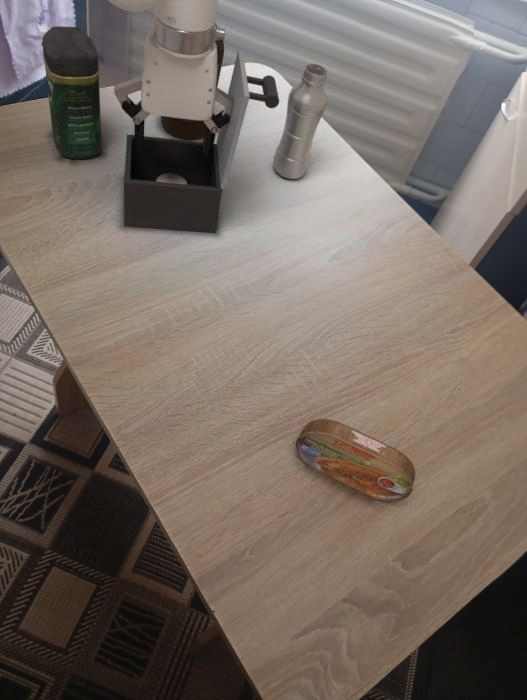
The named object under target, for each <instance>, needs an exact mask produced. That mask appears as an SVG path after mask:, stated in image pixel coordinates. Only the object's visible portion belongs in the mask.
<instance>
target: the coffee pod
mask: <svg viewBox="0 0 527 700" xmlns="http://www.w3.org/2000/svg"><path fill="white" fill-rule="evenodd" d="M156 182H165V183H176V184H187V182H186V180H185V179H184V178H183V177H181V176H179V175H177V174H172V173H167V174H162V175H160V176H159V177H158V178H157V180H156Z"/></svg>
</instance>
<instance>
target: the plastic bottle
mask: <svg viewBox="0 0 527 700" xmlns="http://www.w3.org/2000/svg"><path fill="white" fill-rule="evenodd" d="M327 77H328V70H327V69H326V68H325V66H322V65H321V64H317V63H307V64H305V66H304V69H303V73H302V74H301V80H300V81H299V82H297V83H296V84H295V85H294V86H293V87H292V88H291V89H290V92H288V96H287V104H286V105H287V106H286V117H285V121H284V127H283V132H282V134H281V137H280V139H279V140H280V141H279V143H278V145H277V147H276V149H275V152H274V155H273V167H274V170H275V172H276V173H277V174H278V175H280V176H281V177H283V178H285V179H288V180H290V179H291V180H297V179H300V178H301V177H303V176H305V174H306V173H307V171H308V169H309V167H310V162H311V151H312V146H313V141H314V137H315V134H316V131H317V129H318V126H319V124H320V122H321V119H322V117H323V115H324V112H325V110H326V108H327V96H326V92H325V89H324V86H325V84H326V82H327V81H326V79H327Z"/></svg>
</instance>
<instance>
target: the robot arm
mask: <svg viewBox="0 0 527 700" xmlns="http://www.w3.org/2000/svg"><path fill="white" fill-rule="evenodd" d="M107 1H108V2H109V3H110V4H112V5H113V6H115V7H116V8H119V9H121V10H123V11H127V12H132V13H134V12H135V13H137V12H138V13H139V12H144V11H147V10H149V9H151V8H153V7H154V11H153V13H154V15H153V16H154V17H153V29H150V30H149V31H148V33H147V35H146V39H145V42H144V43H145V44H144V49H143V55H142V56H143V57H142V66H141V75H140V76H137V77H134V78H132V79H128V80H126V81H122V82H120V83H116V84H115V85H114V87H113V94H114V96H115V97H116V100H117V102H118V103H119V105H120V106H121V109H122V111H124V113H125V114H127V116H128V117H129V118H130V119H132V120H131V121H132V123H133V124H134V125H133V126H134V127H133V128H134V129H133V133H134V134H133V135H134V139H135V140H139V149H142V148H144V136H145V124H146V123H145V120H146V119H147V118H148V117H149V116H150V115H152V116H158V117H161V116H165V117H173V118H181V119H190V120H199V121H203V122H204V123H205V130H204V137H202V138H203V139H202V142H203V155H205V156H208V154H209V148H213V147H214V144H215V140H216V134H218V133H219V130H220V128H221V127H223V126H224V125H226V124H227V123H229V122H230V118H231V115H232V111H233V107H234V98H232V97H231V96H229V95H228V93H227V92H225V91H223V90H222V89H221V88H219V86H218V87H216V80H217V46H216V43H215V40H218V39H220V40H223V41H225V37H226V28H224V27H220V26H219V25H218V24H217V23H216V17H217V9H218V1H219V0H107ZM216 24H217V25H216ZM137 92H140V100H139V101H138V103H135V102H134V101H133V100H132V99H131V98H130V97H129V95H131V94H134V93H137ZM215 102H217V103H219V105H221V106H223V107H224V108H225V107H226V108H225V110H224V109H222V110H221V111H220V112H218V113H217V114H215V112H214V111H215Z"/></svg>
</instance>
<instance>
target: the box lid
mask: <svg viewBox="0 0 527 700" xmlns="http://www.w3.org/2000/svg"><path fill="white" fill-rule="evenodd" d="M249 84H251V85H256V86H261V88H262V93H258V92H252V91H250V90H249ZM227 94H228V95H229V96H231V97H232V98H234V107H233V111H232V115H231V118H230V122H229V123H227V124H226V125H224V126H223V127H221V128H220V129H219V131H218V133H217V139H216V144H217V151H218V163H219V175H220V187H221V189H222V190H225V189H226V186H227V183H228V180H229V175H230V171H231V169H232V165H233V161H234V157H235V153H236V149H237V145H238V142H239V138H240V134H241V131H242V127H243V123H244V120H245V116H246V112H247V108H248V104H249V101H250V100H253V101H258V102H263V103H264V105H265V106H266V108H269V109H275V108H276V107H278V105H279V104H280V98H279V93H278V87H277V82H276V79H275V77H274V76H272V75H265V76H264V77H263V78H259V77H256V76H250V75H247V69H246V62H245V56H244V50H243V49H237V54H236V57H235V61H234V66H233V71H232V74H231V78H230V82H229V87H228V91H227ZM225 108H226V107H225V106H224V108H223V110H225Z"/></svg>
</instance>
